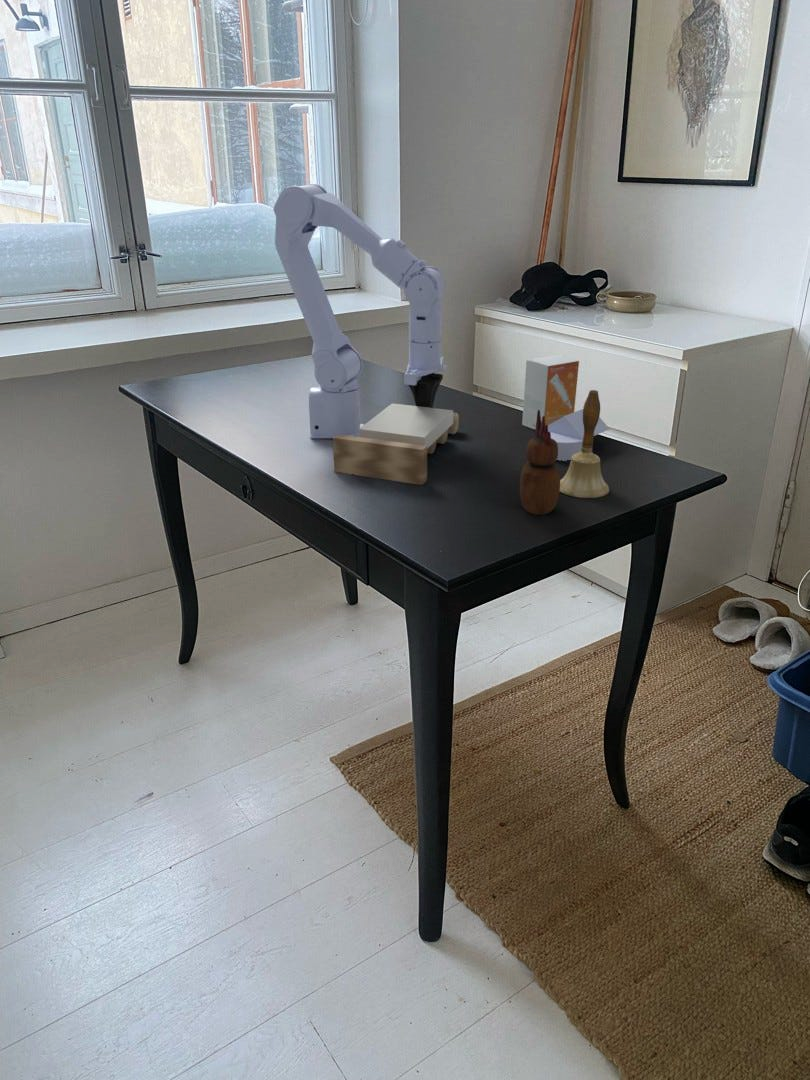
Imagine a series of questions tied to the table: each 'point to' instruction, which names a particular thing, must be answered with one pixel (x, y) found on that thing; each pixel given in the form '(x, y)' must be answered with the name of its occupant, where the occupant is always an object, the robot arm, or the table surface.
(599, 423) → the wedge on round base
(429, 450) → the roller track
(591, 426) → the hand bell
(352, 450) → the block
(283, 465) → the table surface
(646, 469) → the table surface
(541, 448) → the wooden figurine
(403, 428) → the slab
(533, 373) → the small box
